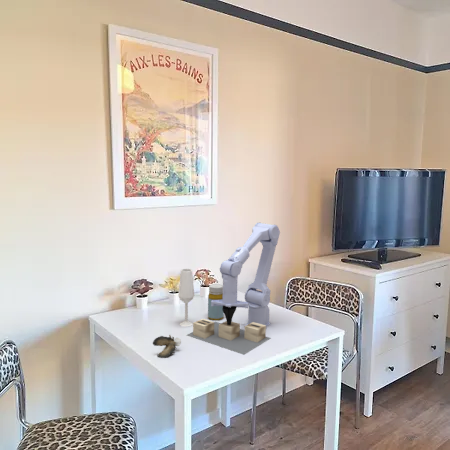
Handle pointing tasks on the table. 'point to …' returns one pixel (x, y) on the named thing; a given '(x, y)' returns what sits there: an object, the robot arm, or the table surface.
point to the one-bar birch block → (255, 332)
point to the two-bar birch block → (203, 328)
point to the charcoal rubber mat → (231, 341)
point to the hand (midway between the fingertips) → (229, 324)
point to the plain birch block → (229, 330)
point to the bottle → (215, 294)
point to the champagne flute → (186, 292)
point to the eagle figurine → (166, 345)
